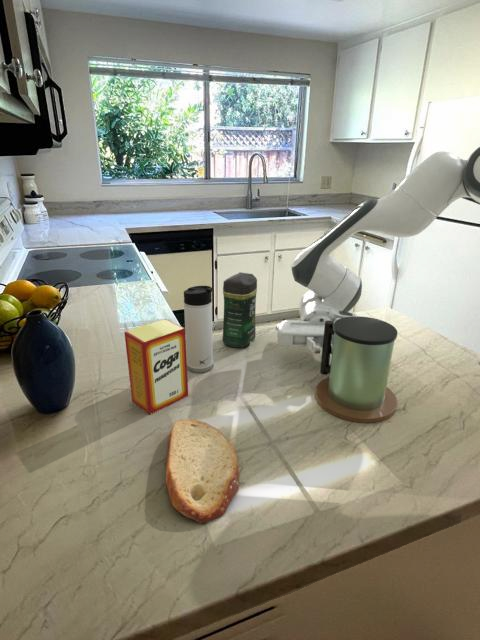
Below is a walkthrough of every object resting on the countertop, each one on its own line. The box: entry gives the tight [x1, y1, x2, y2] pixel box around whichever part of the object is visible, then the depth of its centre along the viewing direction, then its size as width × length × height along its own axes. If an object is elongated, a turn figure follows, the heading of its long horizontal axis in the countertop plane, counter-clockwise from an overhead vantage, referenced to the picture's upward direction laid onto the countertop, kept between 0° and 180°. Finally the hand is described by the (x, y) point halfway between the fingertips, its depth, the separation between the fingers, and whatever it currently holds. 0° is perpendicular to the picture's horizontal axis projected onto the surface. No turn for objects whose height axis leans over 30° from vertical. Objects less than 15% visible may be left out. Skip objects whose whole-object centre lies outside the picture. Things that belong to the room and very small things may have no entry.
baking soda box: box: [123, 318, 189, 415], centre depth 81 cm, size 10×6×16 cm
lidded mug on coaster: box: [314, 315, 398, 424], centre depth 79 cm, size 16×18×16 cm
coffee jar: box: [222, 271, 258, 349], centre depth 106 cm, size 10×8×19 cm
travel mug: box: [183, 285, 214, 374], centre depth 92 cm, size 6×7×20 cm
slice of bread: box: [165, 419, 240, 524], centre depth 65 cm, size 18×18×4 cm
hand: (325, 351), depth 84 cm, fingers closed
